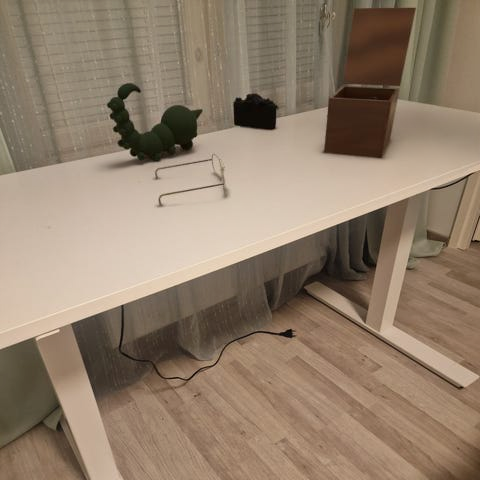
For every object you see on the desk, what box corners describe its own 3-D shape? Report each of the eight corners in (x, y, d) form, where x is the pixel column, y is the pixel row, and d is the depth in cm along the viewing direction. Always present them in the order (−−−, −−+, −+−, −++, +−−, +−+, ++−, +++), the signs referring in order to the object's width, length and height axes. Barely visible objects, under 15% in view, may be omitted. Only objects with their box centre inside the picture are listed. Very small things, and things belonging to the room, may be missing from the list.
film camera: (286, 123, 134) (287, 91, 128) (272, 131, 127) (273, 97, 122) (244, 118, 140) (244, 87, 134) (229, 125, 133) (228, 93, 128)
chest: (381, 158, 106) (391, 101, 98) (323, 152, 110) (328, 98, 102) (390, 140, 117) (399, 88, 109) (337, 136, 121) (342, 85, 113)
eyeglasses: (231, 198, 89) (230, 174, 86) (159, 206, 87) (155, 181, 83) (218, 172, 101) (217, 150, 98) (155, 178, 99) (152, 156, 96)
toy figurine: (136, 176, 105) (217, 145, 115) (114, 92, 92) (206, 66, 103) (119, 167, 111) (197, 138, 121) (95, 86, 98) (185, 62, 109)
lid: (415, 7, 101) (415, 8, 102) (354, 8, 106) (354, 9, 106) (399, 86, 108) (400, 86, 109) (342, 83, 113) (343, 83, 113)
